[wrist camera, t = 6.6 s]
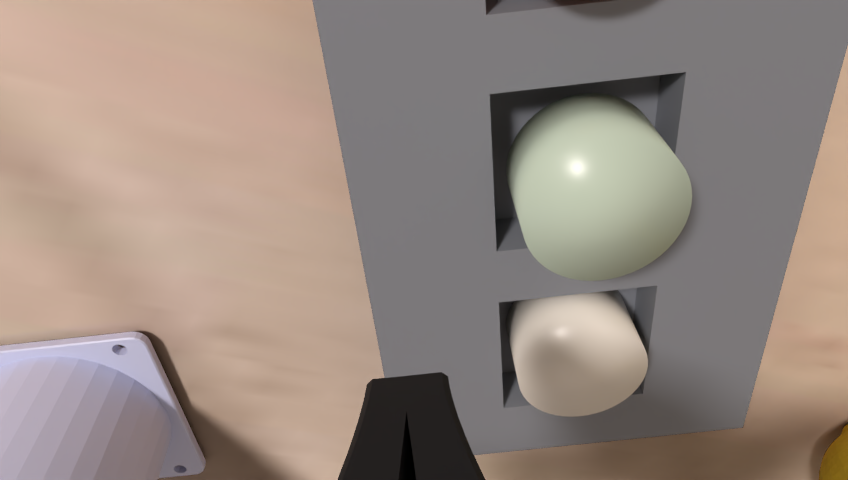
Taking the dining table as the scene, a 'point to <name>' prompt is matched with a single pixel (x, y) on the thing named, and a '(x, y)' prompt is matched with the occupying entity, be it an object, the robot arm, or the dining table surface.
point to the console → (495, 212)
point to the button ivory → (575, 352)
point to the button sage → (596, 188)
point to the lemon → (836, 459)
